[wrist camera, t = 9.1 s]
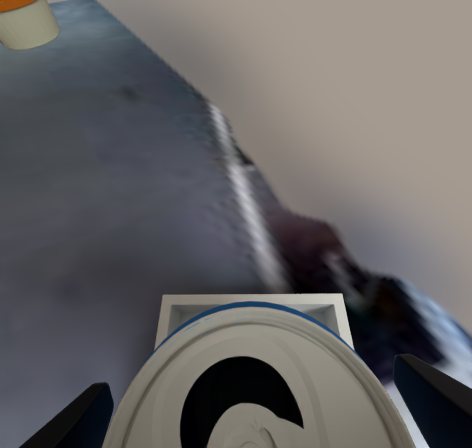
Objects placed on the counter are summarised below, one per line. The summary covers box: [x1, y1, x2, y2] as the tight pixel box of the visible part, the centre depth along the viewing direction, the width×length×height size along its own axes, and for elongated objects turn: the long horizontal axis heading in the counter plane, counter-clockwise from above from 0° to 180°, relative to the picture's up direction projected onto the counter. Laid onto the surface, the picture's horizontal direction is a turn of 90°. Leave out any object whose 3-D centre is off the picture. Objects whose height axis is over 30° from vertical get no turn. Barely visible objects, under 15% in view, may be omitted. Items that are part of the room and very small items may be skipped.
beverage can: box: [102, 301, 416, 448], centre depth 9 cm, size 6×6×12 cm
